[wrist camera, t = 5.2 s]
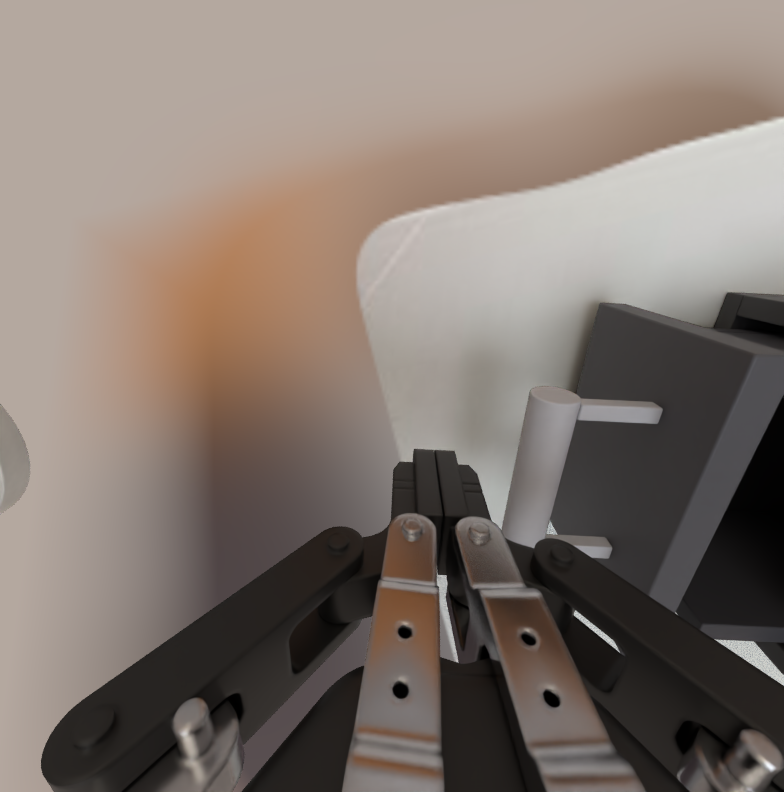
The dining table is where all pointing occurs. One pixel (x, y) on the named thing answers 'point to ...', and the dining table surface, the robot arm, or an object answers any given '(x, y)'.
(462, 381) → the dining table surface
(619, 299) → the dining table surface
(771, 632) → the drawer
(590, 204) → the dining table surface
